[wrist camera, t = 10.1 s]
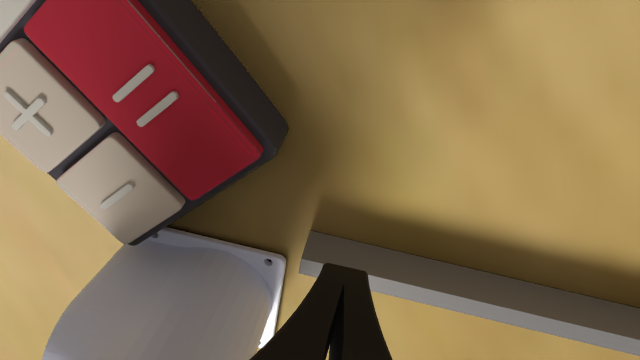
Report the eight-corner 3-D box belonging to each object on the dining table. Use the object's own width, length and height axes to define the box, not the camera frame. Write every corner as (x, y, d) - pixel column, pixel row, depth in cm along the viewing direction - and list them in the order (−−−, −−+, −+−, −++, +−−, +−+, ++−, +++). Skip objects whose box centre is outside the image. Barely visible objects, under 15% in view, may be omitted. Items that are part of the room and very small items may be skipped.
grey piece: (307, 244, 25) (298, 273, 23) (393, -209, 15) (392, -234, 13) (758, 351, 23) (794, 393, 21) (1191, -72, 13) (1344, -75, 11)
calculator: (123, 259, 23) (-148, 20, 18) (159, 212, 27) (-58, 3, 22) (278, 161, 19) (-23, -192, 14) (296, 122, 22) (64, -169, 17)
